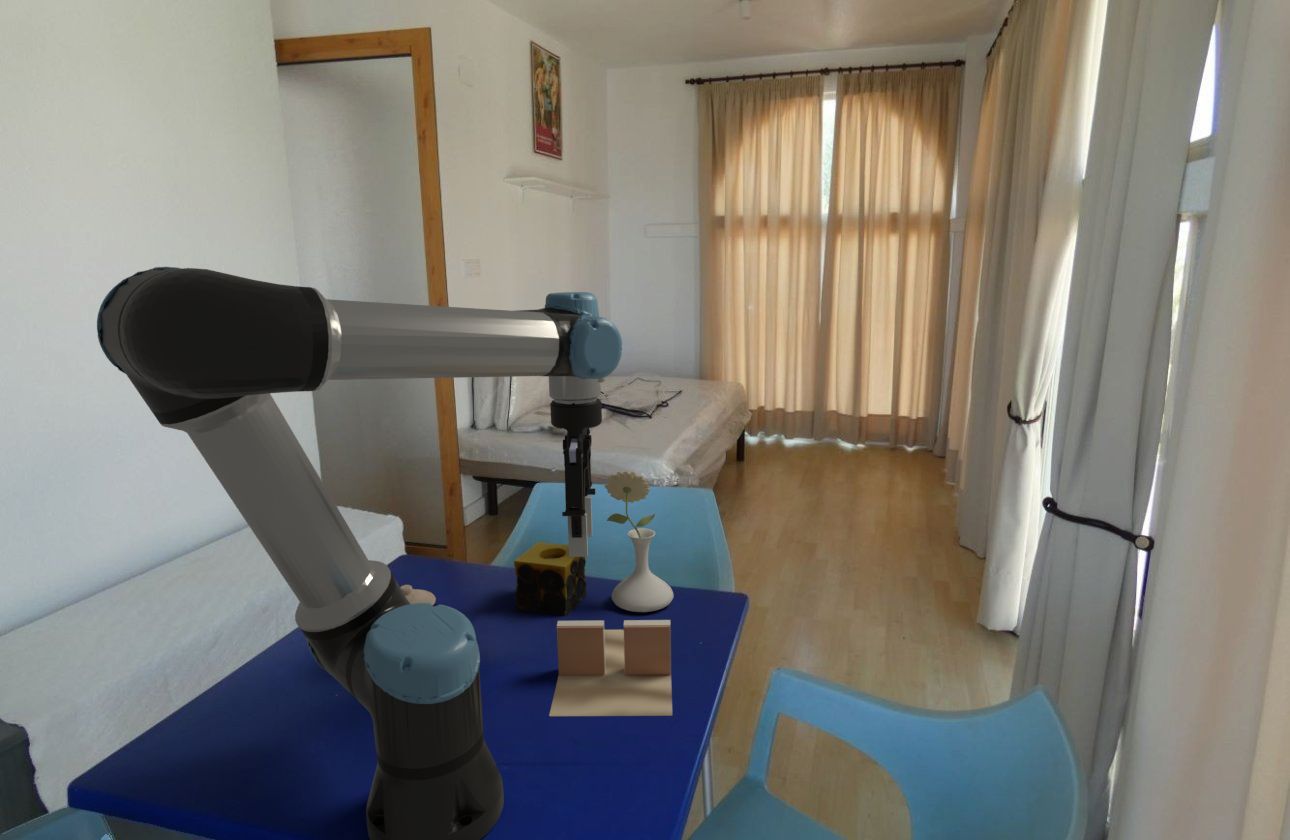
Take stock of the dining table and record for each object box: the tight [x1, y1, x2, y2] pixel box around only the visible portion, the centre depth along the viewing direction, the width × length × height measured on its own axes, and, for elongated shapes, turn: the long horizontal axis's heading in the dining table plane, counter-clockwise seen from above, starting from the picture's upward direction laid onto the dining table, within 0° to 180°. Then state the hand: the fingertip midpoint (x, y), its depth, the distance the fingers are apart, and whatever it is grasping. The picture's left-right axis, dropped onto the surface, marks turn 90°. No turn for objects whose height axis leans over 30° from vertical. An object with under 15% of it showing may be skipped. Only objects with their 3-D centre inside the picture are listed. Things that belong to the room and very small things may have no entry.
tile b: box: [623, 619, 672, 675], centre depth 111 cm, size 2×7×8 cm, turn 89°
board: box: [548, 629, 673, 717], centre depth 113 cm, size 24×17×1 cm
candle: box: [513, 541, 587, 617], centre depth 134 cm, size 10×10×10 cm
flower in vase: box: [604, 470, 674, 613], centre depth 132 cm, size 13×11×25 cm
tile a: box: [556, 620, 606, 676], centre depth 111 cm, size 2×7×8 cm, turn 89°
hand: (581, 545), depth 112 cm, fingers open, 7 cm apart
